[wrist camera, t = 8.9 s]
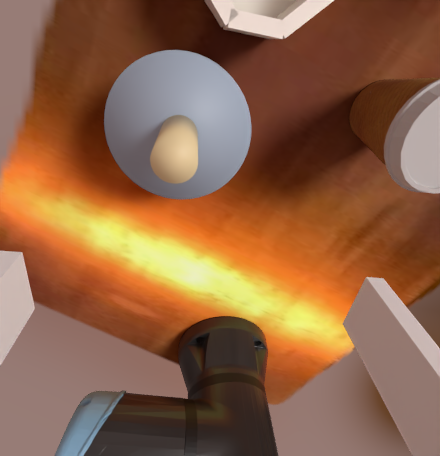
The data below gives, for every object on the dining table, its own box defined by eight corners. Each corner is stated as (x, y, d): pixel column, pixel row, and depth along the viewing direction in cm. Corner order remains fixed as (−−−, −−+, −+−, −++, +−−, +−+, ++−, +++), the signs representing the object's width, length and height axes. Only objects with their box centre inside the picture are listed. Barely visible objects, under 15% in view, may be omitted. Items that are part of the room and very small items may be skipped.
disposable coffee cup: (318, 137, 34) (369, 179, 24) (367, 46, 30) (455, 49, 20) (386, 163, 37) (458, 211, 27) (440, 82, 32) (553, 102, 22)
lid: (234, 202, 31) (244, 247, 25) (108, 185, 29) (81, 229, 23) (264, 66, 25) (290, 76, 18) (105, 34, 23) (67, 32, 16)
